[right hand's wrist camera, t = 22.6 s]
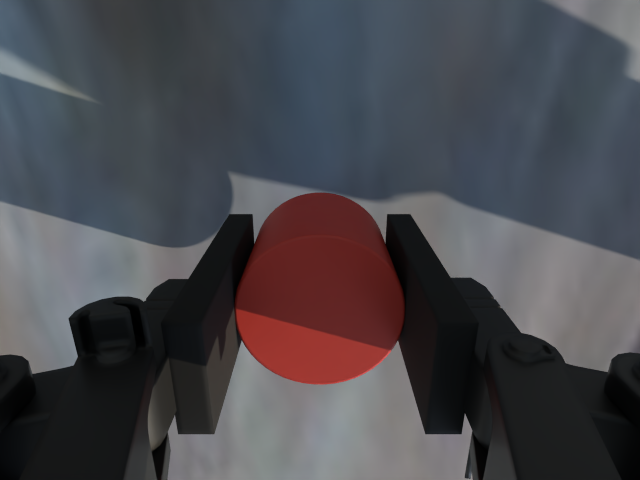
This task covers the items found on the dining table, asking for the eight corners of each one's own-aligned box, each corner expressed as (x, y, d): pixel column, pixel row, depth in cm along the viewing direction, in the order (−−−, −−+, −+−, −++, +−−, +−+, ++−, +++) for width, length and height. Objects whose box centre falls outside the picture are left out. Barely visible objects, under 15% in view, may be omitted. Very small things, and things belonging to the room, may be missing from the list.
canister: (248, 195, 14) (221, 240, 10) (383, 188, 14) (407, 229, 10) (263, 313, 16) (244, 389, 12) (384, 307, 16) (405, 381, 12)
